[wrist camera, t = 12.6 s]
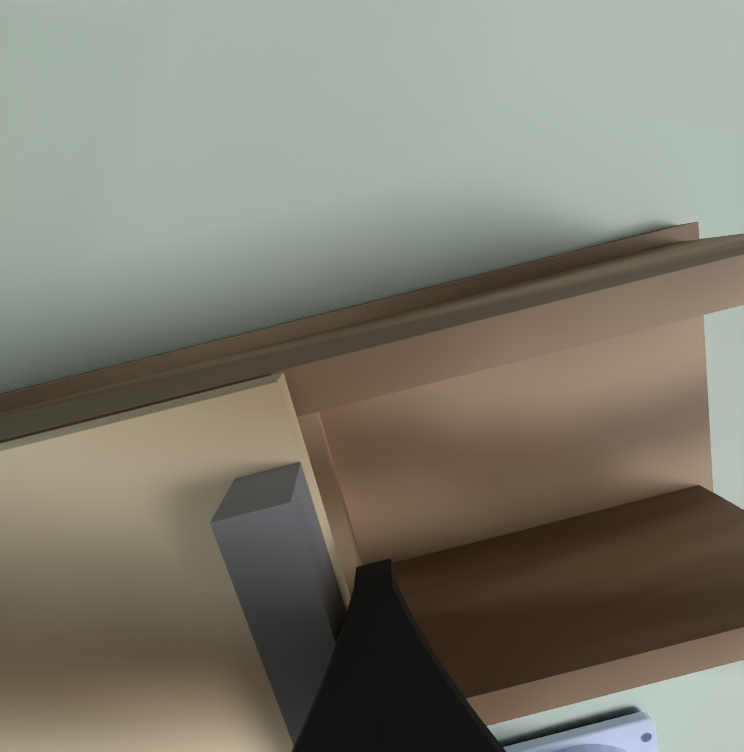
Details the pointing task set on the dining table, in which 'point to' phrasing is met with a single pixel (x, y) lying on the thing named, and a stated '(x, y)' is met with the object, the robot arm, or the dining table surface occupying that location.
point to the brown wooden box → (507, 460)
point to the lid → (166, 579)
